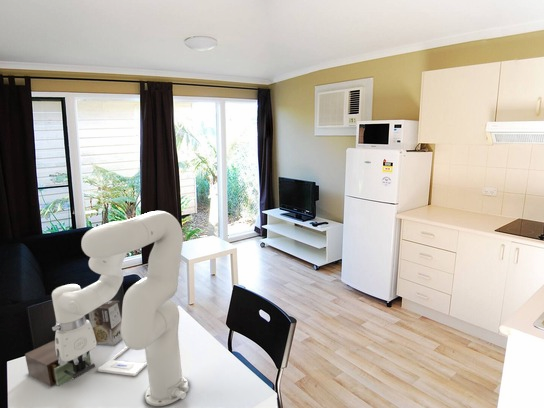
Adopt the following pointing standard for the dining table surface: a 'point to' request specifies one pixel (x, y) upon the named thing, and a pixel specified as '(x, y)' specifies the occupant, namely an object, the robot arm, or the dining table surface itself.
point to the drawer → (68, 371)
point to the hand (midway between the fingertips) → (80, 371)
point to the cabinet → (42, 362)
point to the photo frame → (122, 366)
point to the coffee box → (107, 323)
